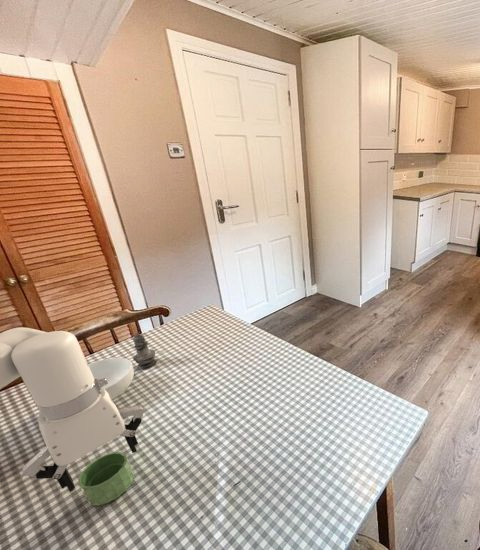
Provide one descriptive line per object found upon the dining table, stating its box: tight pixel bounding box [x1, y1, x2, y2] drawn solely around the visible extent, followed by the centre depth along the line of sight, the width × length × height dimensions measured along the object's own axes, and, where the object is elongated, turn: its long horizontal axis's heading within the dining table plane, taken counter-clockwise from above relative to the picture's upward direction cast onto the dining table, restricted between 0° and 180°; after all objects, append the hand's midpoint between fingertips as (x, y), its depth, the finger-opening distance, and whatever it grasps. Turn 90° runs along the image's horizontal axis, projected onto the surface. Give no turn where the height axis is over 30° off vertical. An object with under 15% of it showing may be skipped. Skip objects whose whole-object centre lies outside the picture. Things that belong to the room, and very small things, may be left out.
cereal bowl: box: [88, 357, 135, 401], centre depth 83 cm, size 17×17×7 cm
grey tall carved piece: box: [132, 332, 158, 371], centre depth 95 cm, size 6×6×12 cm
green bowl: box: [77, 451, 135, 506], centre depth 61 cm, size 7×7×6 cm
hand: (103, 466), depth 59 cm, fingers open, 9 cm apart
